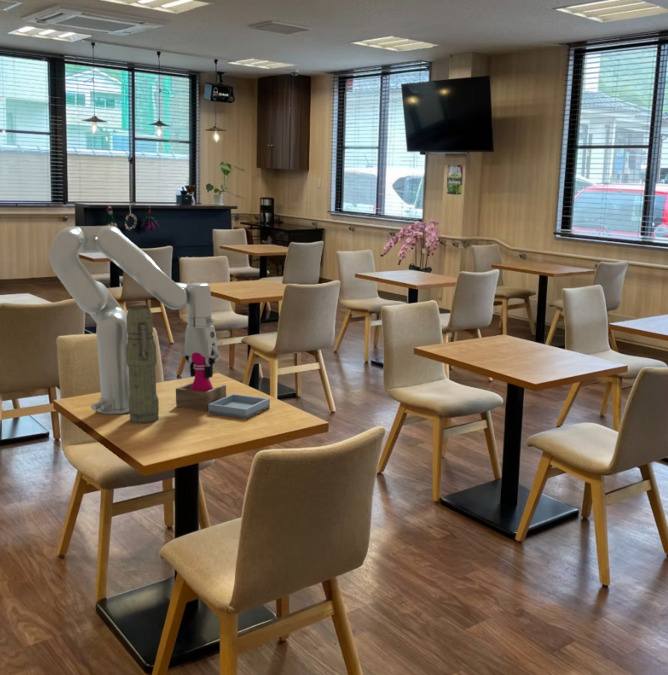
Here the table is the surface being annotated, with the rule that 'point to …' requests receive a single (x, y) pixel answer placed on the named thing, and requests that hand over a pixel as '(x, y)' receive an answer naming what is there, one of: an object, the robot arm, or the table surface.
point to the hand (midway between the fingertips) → (201, 376)
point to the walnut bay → (198, 397)
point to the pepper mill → (200, 374)
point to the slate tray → (238, 406)
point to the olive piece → (141, 366)
